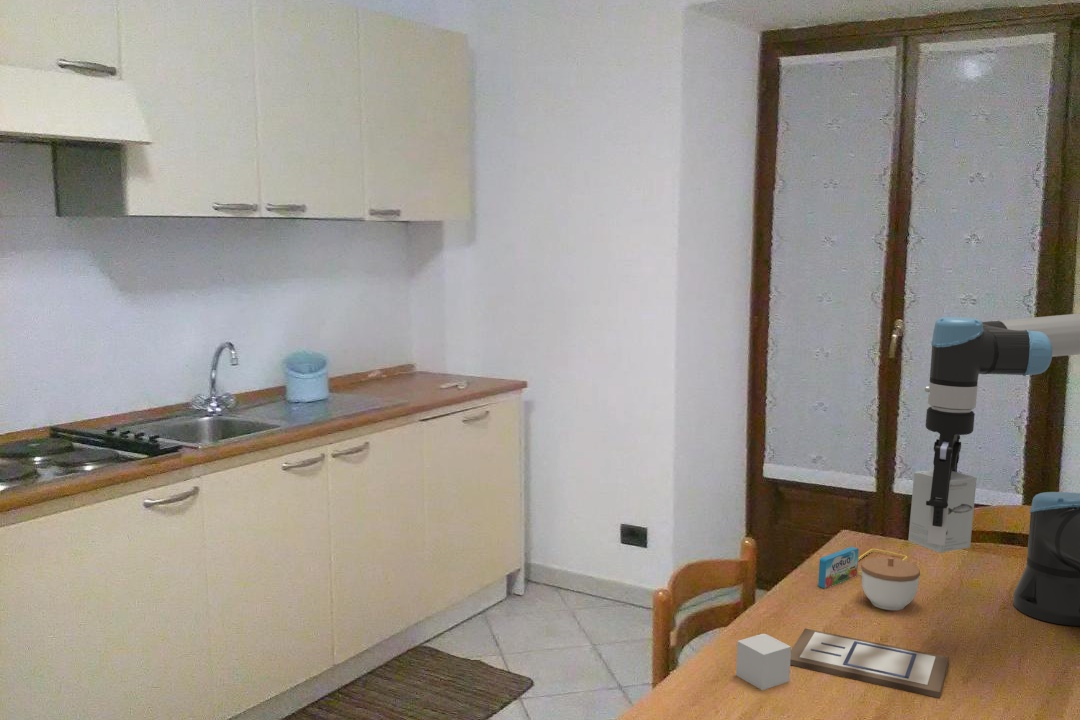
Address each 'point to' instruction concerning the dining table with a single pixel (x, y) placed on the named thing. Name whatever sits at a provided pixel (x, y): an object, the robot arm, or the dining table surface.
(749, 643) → the gray cube
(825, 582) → the yogurt
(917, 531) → the supplement box
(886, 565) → the lidded jar
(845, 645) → the brown framed board
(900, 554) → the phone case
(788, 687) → the dining table surface
